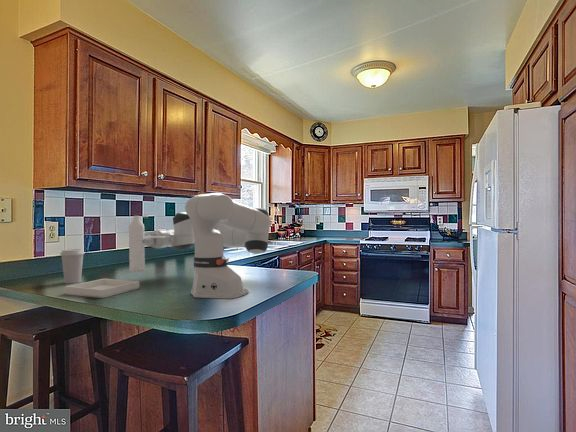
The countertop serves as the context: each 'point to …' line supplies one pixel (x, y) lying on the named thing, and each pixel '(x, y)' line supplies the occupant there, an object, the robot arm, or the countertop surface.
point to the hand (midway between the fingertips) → (137, 241)
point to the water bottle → (136, 245)
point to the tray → (101, 288)
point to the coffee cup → (72, 265)
